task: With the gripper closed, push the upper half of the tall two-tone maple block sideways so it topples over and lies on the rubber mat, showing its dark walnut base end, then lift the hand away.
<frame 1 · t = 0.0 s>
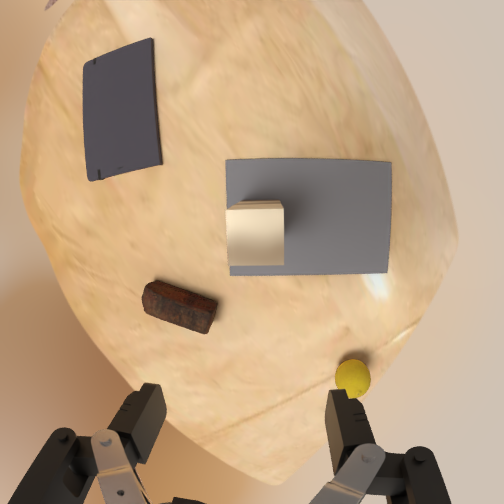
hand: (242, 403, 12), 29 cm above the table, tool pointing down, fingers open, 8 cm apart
tall block: (260, 218, 39), resting on rubber mat
rubber mat: (312, 217, 39), on the table
notebook: (120, 108, 38), on the table
lemon: (347, 363, 44), on the table
brick: (183, 299, 44), on the table
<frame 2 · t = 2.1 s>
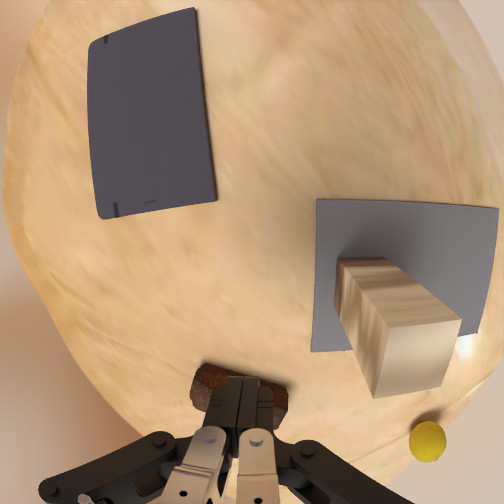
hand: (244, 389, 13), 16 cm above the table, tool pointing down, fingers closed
tall block: (359, 281, 28), resting on rubber mat
rubber mat: (417, 278, 27), on the table
notebook: (146, 109, 26), on the table
lemon: (418, 422, 33), on the table
brick: (240, 383, 32), on the table
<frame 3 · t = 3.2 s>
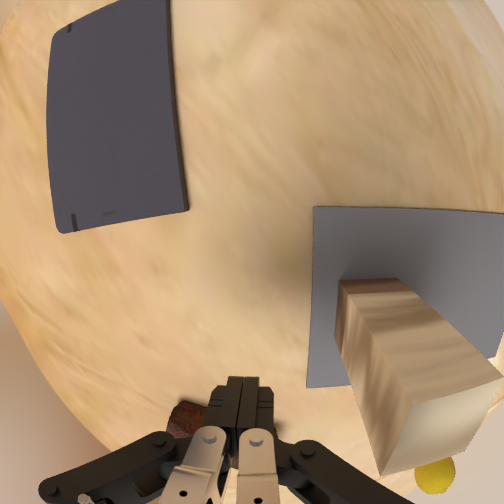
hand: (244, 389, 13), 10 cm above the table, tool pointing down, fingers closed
tall block: (365, 308, 22), resting on rubber mat
rubber mat: (434, 300, 22), on the table
notebook: (109, 103, 21), on the table
lemon: (425, 451, 27), on the table
brick: (224, 421, 27), on the table
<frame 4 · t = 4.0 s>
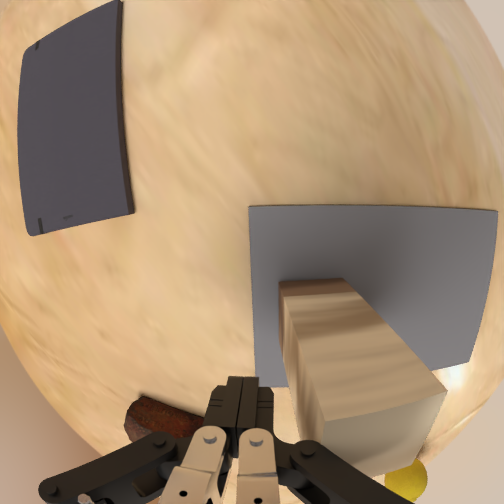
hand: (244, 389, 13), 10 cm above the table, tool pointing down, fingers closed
tall block: (310, 309, 22), point 1 cm above the table, tilted 5°, touching gripper, hand, rubber mat
rubber mat: (389, 302, 22), on the table
notebook: (69, 115, 21), on the table
lemon: (398, 457, 28), on the table
brick: (182, 418, 27), on the table
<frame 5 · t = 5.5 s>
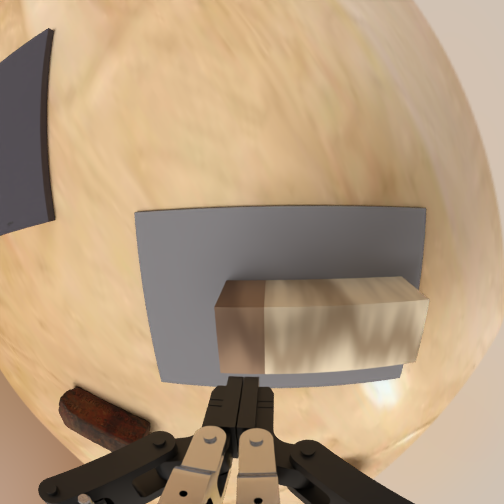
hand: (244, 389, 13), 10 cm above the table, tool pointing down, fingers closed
tall block: (223, 324, 20), point 3 cm above the table, tilted 90°, touching rubber mat
rubber mat: (284, 307, 23), on the table
notebook: (14, 135, 22), on the table
brick: (111, 410, 28), on the table
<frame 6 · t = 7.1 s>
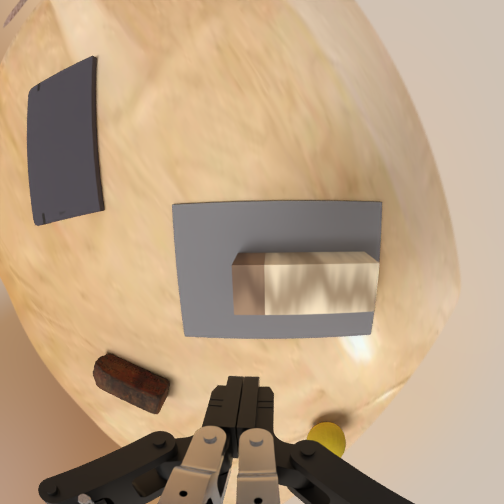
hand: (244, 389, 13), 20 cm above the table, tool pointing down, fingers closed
tall block: (235, 282, 30), point 3 cm above the table, tilted 90°, touching rubber mat
rubber mat: (278, 273, 32), on the table
notebook: (63, 142, 31), on the table
lemon: (322, 423, 37), on the table
brick: (136, 373, 38), on the table
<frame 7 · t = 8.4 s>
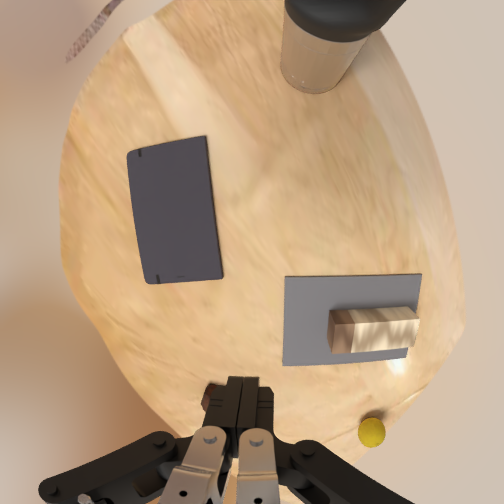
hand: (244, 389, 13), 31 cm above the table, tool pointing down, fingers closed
tall block: (330, 331, 42), point 3 cm above the table, tilted 90°, touching rubber mat
rubber mat: (353, 322, 45), on the table
notebook: (174, 212, 44), on the table
lemon: (367, 418, 50), on the table
brick: (232, 396, 50), on the table
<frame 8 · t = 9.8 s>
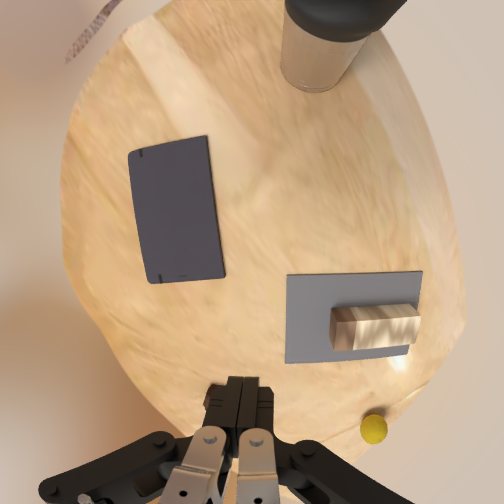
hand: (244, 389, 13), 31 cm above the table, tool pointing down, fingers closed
tall block: (332, 329, 43), point 3 cm above the table, tilted 90°, touching rubber mat
rubber mat: (355, 319, 45), on the table
notebook: (176, 212, 44), on the table
lemon: (369, 415, 50), on the table
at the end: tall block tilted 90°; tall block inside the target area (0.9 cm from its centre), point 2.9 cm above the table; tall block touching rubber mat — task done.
